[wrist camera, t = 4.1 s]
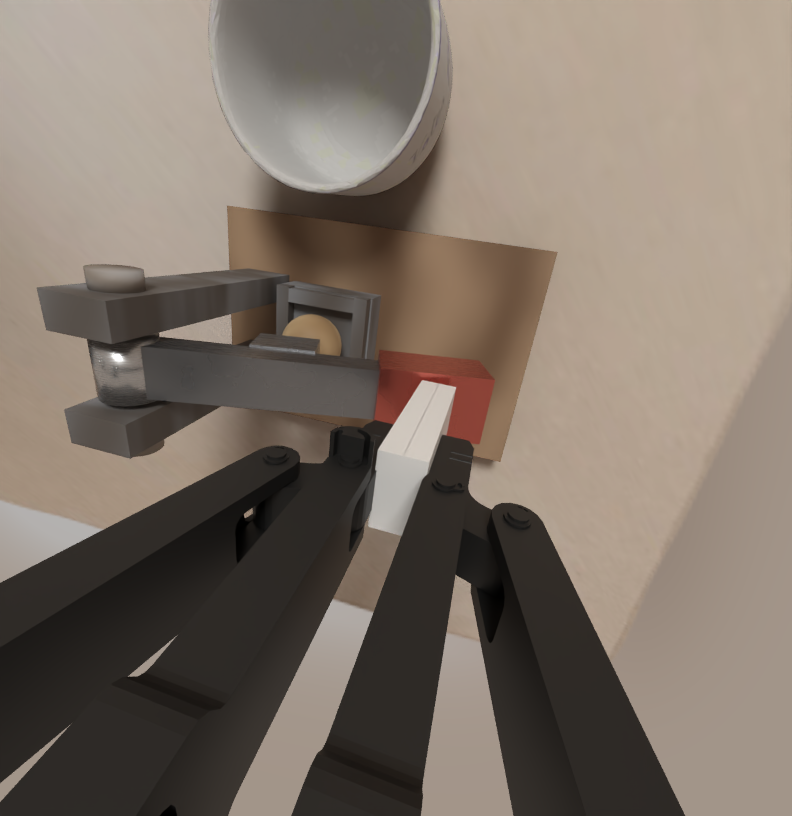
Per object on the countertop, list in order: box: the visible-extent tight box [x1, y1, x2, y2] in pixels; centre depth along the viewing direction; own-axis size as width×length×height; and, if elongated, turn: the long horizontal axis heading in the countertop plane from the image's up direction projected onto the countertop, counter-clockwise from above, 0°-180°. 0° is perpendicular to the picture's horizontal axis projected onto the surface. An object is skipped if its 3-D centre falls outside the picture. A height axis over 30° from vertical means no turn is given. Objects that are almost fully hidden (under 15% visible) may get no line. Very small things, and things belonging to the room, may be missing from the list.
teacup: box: [208, 0, 453, 196], centre depth 20 cm, size 14×11×8 cm
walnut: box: [282, 314, 342, 356], centre depth 24 cm, size 4×4×4 cm
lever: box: [87, 333, 495, 444], centre depth 19 cm, size 17×3×5 cm, turn 82°
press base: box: [37, 206, 557, 462], centre depth 22 cm, size 21×14×16 cm, turn 82°
